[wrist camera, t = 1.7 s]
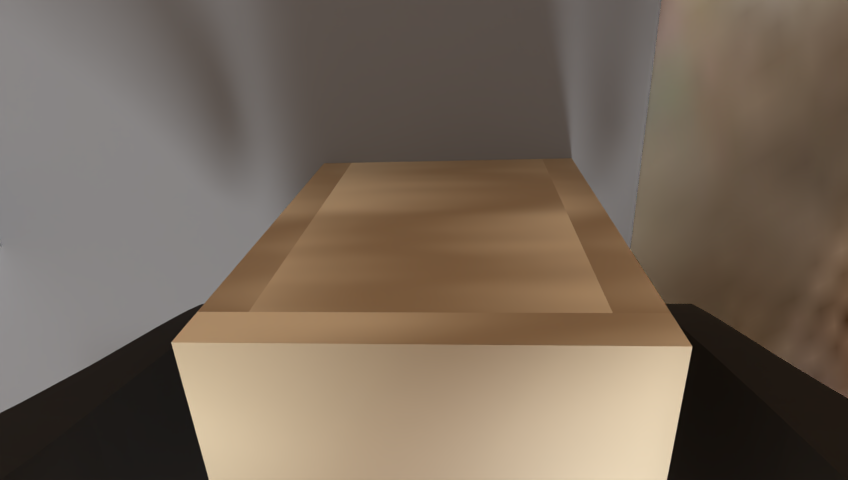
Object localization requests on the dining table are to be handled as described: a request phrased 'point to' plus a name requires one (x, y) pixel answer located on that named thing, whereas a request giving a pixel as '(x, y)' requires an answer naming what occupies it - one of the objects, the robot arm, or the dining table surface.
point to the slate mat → (266, 136)
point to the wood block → (437, 334)
